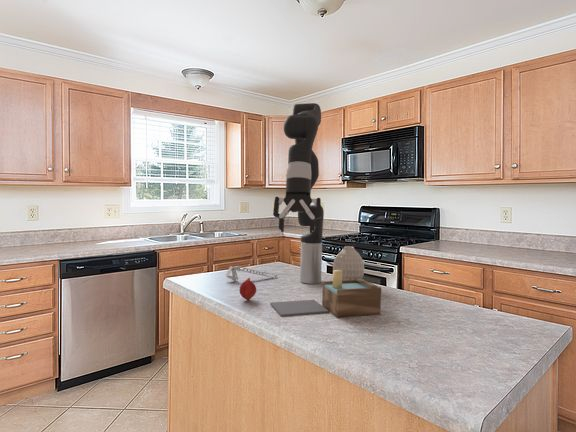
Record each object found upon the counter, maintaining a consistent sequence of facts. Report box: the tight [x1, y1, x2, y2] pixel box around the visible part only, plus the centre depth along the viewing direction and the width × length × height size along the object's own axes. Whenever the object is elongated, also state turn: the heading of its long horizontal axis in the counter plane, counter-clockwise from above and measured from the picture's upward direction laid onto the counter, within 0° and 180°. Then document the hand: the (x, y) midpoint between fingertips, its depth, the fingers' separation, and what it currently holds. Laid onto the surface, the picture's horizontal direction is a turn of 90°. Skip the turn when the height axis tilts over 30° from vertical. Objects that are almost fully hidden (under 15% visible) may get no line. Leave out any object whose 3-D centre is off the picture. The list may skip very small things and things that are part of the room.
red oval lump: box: [239, 277, 257, 301], centre depth 130 cm, size 6×6×8 cm
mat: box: [269, 299, 330, 317], centre depth 122 cm, size 13×16×1 cm
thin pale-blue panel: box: [324, 269, 370, 294], centre depth 120 cm, size 10×14×6 cm
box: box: [321, 277, 382, 319], centre depth 121 cm, size 12×15×9 cm
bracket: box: [225, 265, 278, 282], centre depth 162 cm, size 3×21×10 cm, turn 115°
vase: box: [332, 245, 365, 280], centre depth 152 cm, size 13×13×17 cm
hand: (296, 232), depth 110 cm, fingers open, 8 cm apart
